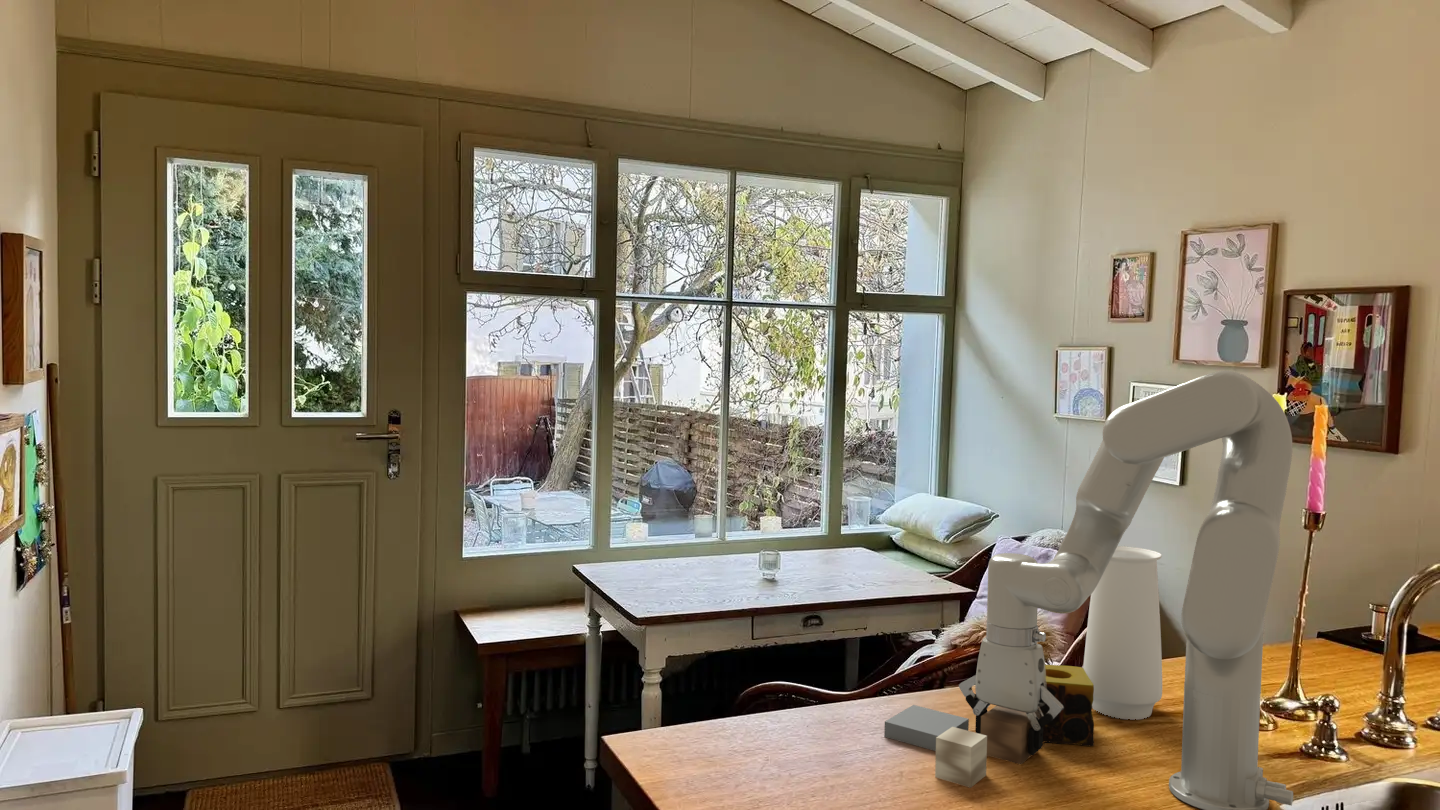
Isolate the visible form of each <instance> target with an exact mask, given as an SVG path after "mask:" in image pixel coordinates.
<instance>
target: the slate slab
mask: <svg viewBox="0 0 1440 810" xmlns="http://www.w3.org/2000/svg"><path fill="white" fill-rule="evenodd" d="M969 723H970V719H969V718H967V717H963V716H959V715H955V714H951V713H947V712H943V711H939V710H935V709H931V708H928V707H923V706H920V705H916V704H913V705H911V706H909V707H907V708H906V709H904V710H902V711H900V712H899V713H897V714H895V715H894V716H891V717H889V718H888V719H887V720H885V721H884V731H883V732H884V734H883V736H884V737H883V738H888V739H891V740H894V741H899V742H903V743H906V744H909V745H912V746H915V747H916V746H917V747H920V748H924V749H927V750H931V751H934V752H936V737H938V736H939V735H941V734H942V733H944V732H945V731H947V730H948V729H950V728H951V727H956V728H959V729H963V730H967V731H969V725H970V724H969Z"/></svg>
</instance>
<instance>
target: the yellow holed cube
mask: <svg viewBox="0 0 1440 810" xmlns="http://www.w3.org/2000/svg"><path fill="white" fill-rule="evenodd" d="M1045 669H1046V684H1047V690H1048V691H1049V692H1050V693H1051V694H1052V695H1053V696H1054V697H1055V698H1056V699H1057V700H1058V701H1059V702H1060V703H1061V704H1062V705H1063V707H1064V709H1063V710H1062V711H1061V712H1060V713H1059V714H1058V715H1057V716H1056V717H1055V718H1054V719H1053V720H1052V721H1051V722H1049V723H1048V724H1047V725H1045V726H1044V727H1043V743H1047V744H1049V743H1050V744H1051V743H1052V744H1061V745H1062V744H1063V745H1067V744H1072V745H1078V746H1086V747H1093V746H1094V745H1095V744H1094V734H1095V733H1094V732H1095V731H1094V730H1095V723H1094V722H1095V721H1094V717H1093V716H1094V715H1093V708H1092V703H1093V693H1094V685H1093V683H1092V682H1091V680H1090V679H1089V677H1088V676H1087V674H1086V672H1085V670H1084V668H1083V666H1082V667H1081V666H1072V665H1062V664H1061V665H1059V664H1058V665H1057V664H1045ZM1039 707H1040V709H1041V711H1042V713H1043V715H1045V714H1046V713H1047V712H1048V711H1049V710H1050V707H1049V706H1048V705H1047V704H1045V705H1044V706H1039Z"/></svg>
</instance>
